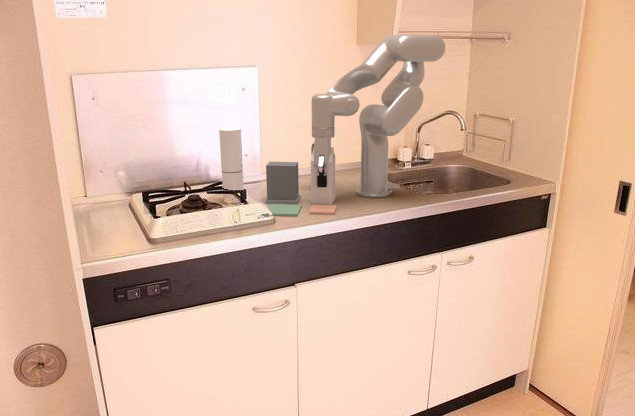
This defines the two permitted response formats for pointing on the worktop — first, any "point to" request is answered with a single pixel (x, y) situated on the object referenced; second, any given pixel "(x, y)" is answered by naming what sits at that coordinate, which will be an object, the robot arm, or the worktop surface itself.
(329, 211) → the terracotta tile
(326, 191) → the milk carton
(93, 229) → the worktop surface
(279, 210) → the green mat
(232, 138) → the cylindrical container
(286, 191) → the wall box
